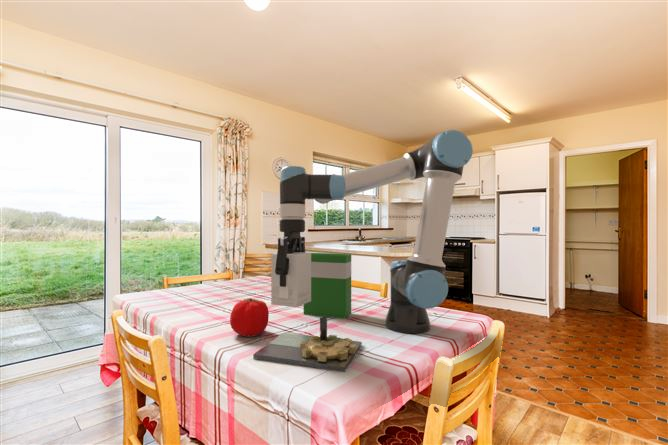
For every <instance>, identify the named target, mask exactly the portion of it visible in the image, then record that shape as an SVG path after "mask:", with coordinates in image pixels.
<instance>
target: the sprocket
mask: <svg viewBox="0 0 668 445" xmlns="http://www.w3.org/2000/svg"><path fill="white" fill-rule="evenodd" d="M313 336H314V335H313ZM352 341H353V339H352V338H348V337H345V338H341V337H338V336H337V335H335V334H329V335H328V317H325V316H319V336H318V335H315V336H314V337H311V340H309V341H302V342H301V344H300V350H302V355H303V356H304V357H306V358H307V357H314V358H318V361H323V362H326V361H327V359H339V360H344V359H348V354H349V353H351V354H355V352H356V345H354V344H352Z"/></svg>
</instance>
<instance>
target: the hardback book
mask: <svg viewBox="0 0 668 445" xmlns="http://www.w3.org/2000/svg"><path fill="white" fill-rule="evenodd" d="M310 253H311V302H308V303H306V304H303V315H306V316H316V317H327V318H335V319H337V318H338V319H347V318H348V317H350V315H351V314H352V253H337V252H335V253H334V252H333V253H330V252H329V253H328V252H310Z"/></svg>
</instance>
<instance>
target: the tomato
mask: <svg viewBox="0 0 668 445" xmlns="http://www.w3.org/2000/svg"><path fill="white" fill-rule="evenodd" d="M269 314H270V313H269V308H268V305H267V303H266V302H265V301H263V300H259V299H255V298H245V299H243V300H239V302H238V301H237V303H235V304H234V306H233V307H232V310H231V312H230V318H229V323H230V324H229V325H230V326H231V327H230V328H231V329H232V330H233V332H234V333H236V334H238V335H240V336H244V337H247V338H249V337H256V336H258V335H261V334H262V333H264V332H265V330H266V328H267V326H268V323H269V318H270V316H269Z"/></svg>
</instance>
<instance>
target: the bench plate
mask: <svg viewBox="0 0 668 445" xmlns="http://www.w3.org/2000/svg"><path fill="white" fill-rule="evenodd" d="M311 337H314V335H309V334H308V335H307V334H300V333H291V332H283V333H281V334H280V335H279V336H277V337H276V338H274V339H273V340H271V341H270V342H268V343H267V344H266V345H265V346H263V347H262V348H260V349H259V350H258V351H256V352H255V353H253V359H254V360H259V361H267V362H273V363H279V364H280V363H281V364H285V365H286V364H288V365H294V366H300V367H301V366H302V367H307V368H308V367H309V368H314V369H321V370H327V371H335V372H342V373H345V372H346V370H347V369H348V368H349V366H350V365H351V364H352V361H353V360H354V358H355V357H356V355H357V354H358V352H359V351H360V350H361V348H362V346H363V342H362V341H358V340H352V344H354V345H356V352H355V354H351V353H349V354H348V359H344V360H339V359H327V361H326V362H323V361H318V358H314V357H307V358H306V357H304V356H303V355H302V350H300V344H301V342H302V341H309V340H311Z"/></svg>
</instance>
